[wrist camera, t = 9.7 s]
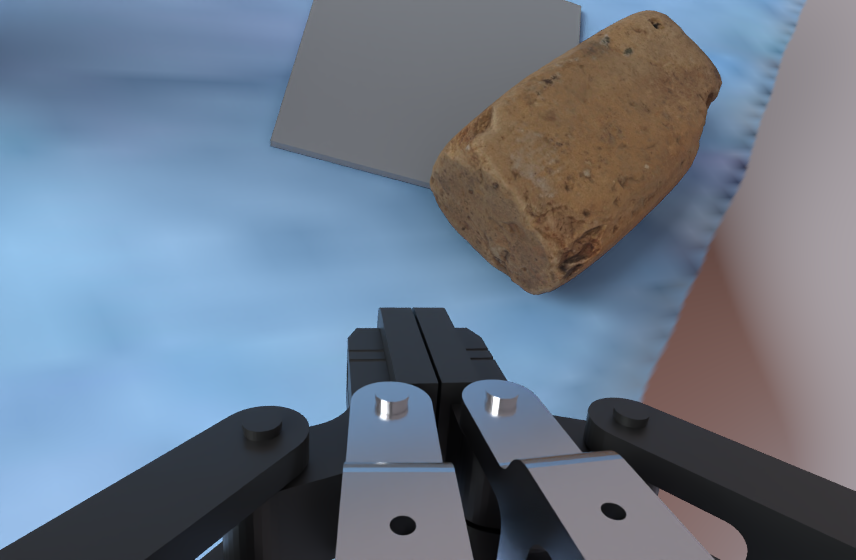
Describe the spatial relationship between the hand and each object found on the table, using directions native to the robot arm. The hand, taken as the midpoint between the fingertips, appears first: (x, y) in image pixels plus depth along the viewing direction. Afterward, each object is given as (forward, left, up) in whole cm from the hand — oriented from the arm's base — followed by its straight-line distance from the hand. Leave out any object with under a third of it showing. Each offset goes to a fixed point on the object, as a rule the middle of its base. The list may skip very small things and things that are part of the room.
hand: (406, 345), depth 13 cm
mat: (+3, +26, -18) cm, 32 cm away
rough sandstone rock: (+6, +11, -14) cm, 19 cm away
